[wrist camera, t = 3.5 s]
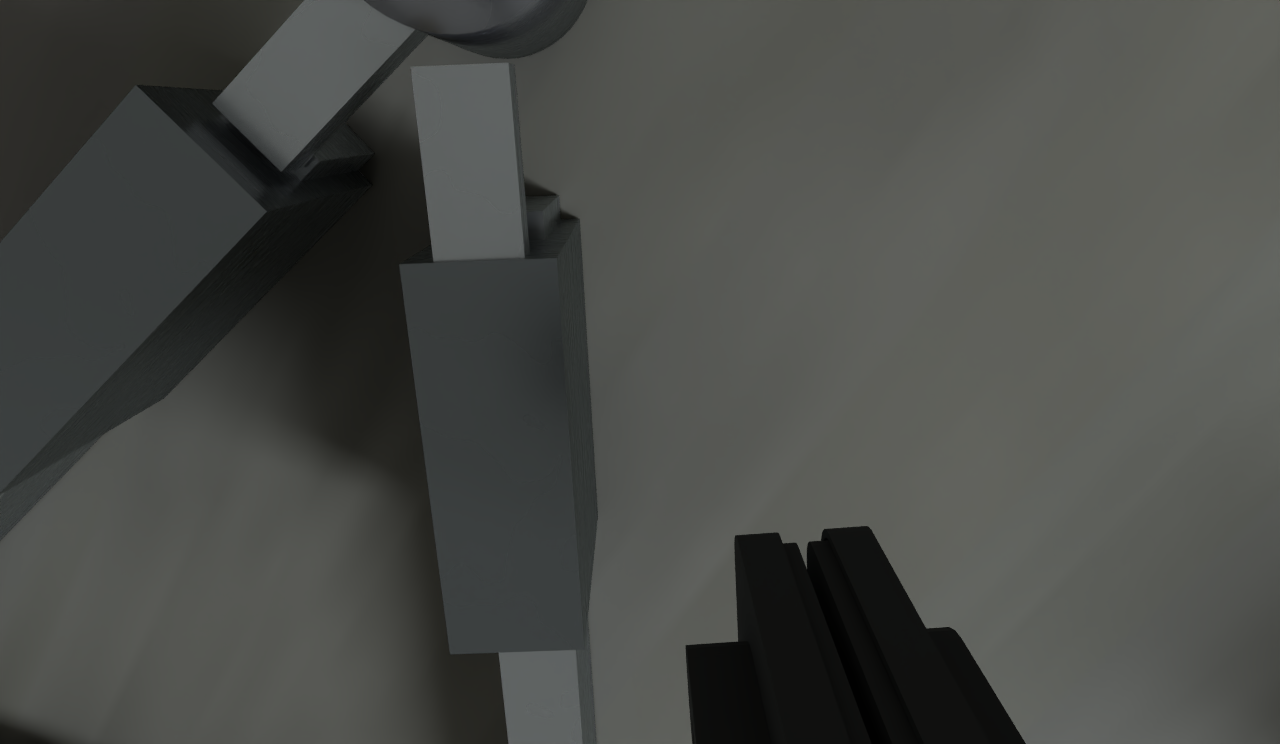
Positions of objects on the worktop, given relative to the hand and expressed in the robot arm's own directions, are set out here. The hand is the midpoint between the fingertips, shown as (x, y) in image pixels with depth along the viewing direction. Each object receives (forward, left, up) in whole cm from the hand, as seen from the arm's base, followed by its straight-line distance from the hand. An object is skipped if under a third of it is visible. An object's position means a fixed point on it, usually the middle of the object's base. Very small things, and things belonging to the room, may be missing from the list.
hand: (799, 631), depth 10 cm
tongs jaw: (-6, +2, -8) cm, 10 cm away
